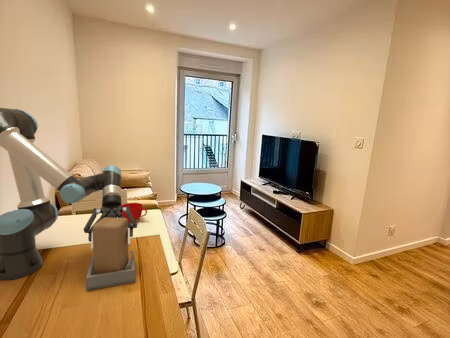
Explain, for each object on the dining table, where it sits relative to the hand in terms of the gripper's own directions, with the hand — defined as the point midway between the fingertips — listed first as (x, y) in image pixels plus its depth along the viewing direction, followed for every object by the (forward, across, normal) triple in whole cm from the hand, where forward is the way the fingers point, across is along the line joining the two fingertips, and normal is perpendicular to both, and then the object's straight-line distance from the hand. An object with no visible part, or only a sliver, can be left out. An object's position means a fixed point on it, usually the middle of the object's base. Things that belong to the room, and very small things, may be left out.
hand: (111, 247), depth 96 cm
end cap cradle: (+7, 0, -11) cm, 13 cm away
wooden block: (+6, 0, -9) cm, 11 cm away
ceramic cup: (-34, -10, -52) cm, 63 cm away
